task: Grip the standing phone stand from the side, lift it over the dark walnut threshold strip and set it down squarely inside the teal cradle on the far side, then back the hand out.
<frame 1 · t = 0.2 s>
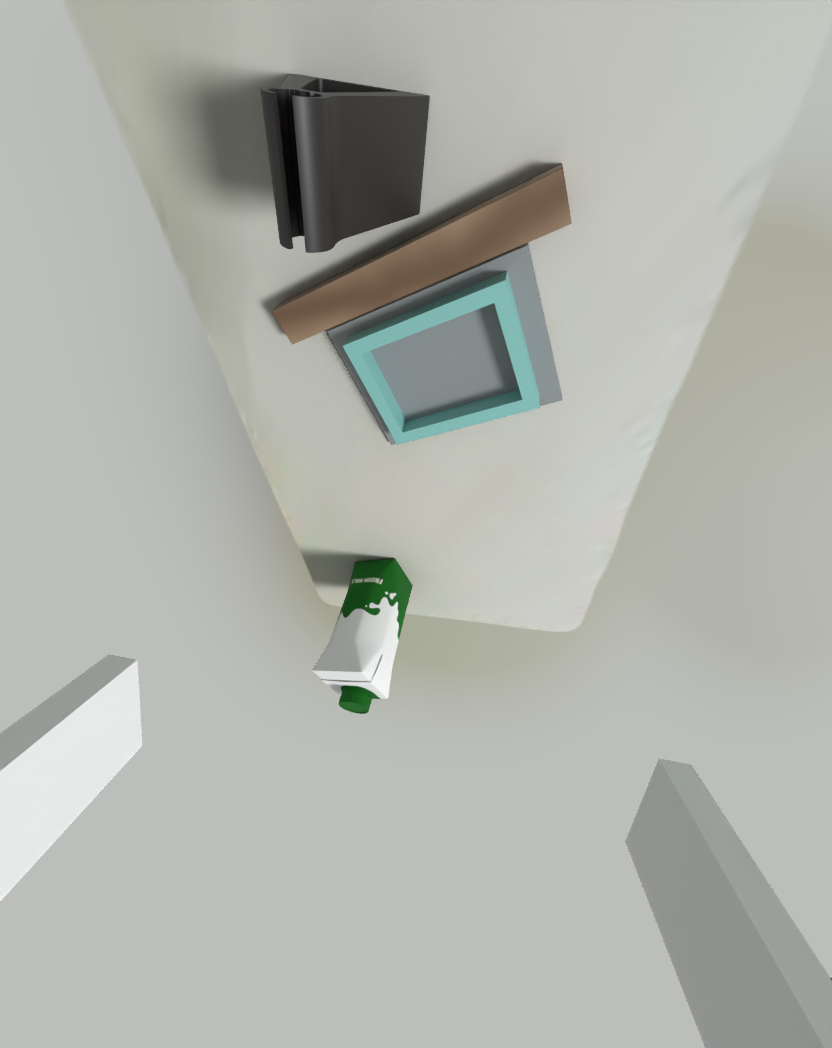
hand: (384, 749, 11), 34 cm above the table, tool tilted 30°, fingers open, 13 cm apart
threshold strip: (407, 265, 33), on the table
cradle: (446, 362, 38), on the table
milk carton: (384, 572, 66), on the table
phone stand: (361, 147, 28), on the table
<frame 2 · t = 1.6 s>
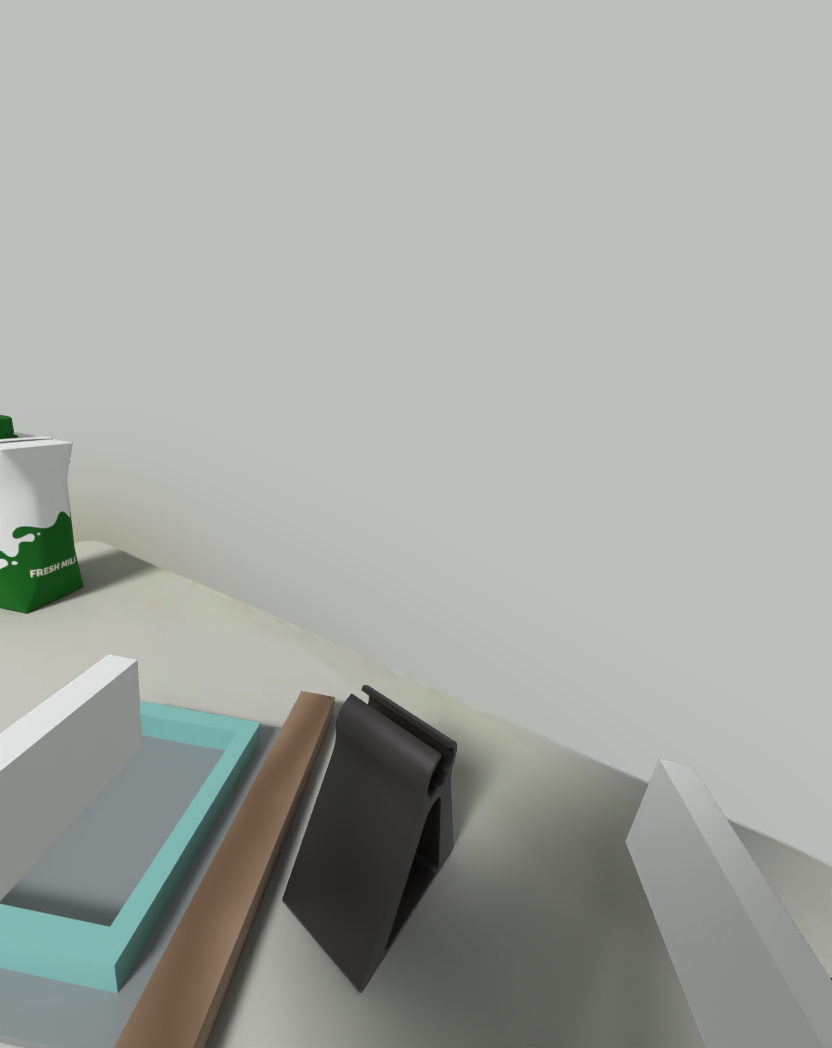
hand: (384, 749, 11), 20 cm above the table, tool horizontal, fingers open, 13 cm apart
threshold strip: (255, 851, 26), on the table
cradle: (124, 825, 26), on the table
milk carton: (30, 595, 48), on the table
phone stand: (373, 877, 25), on the table
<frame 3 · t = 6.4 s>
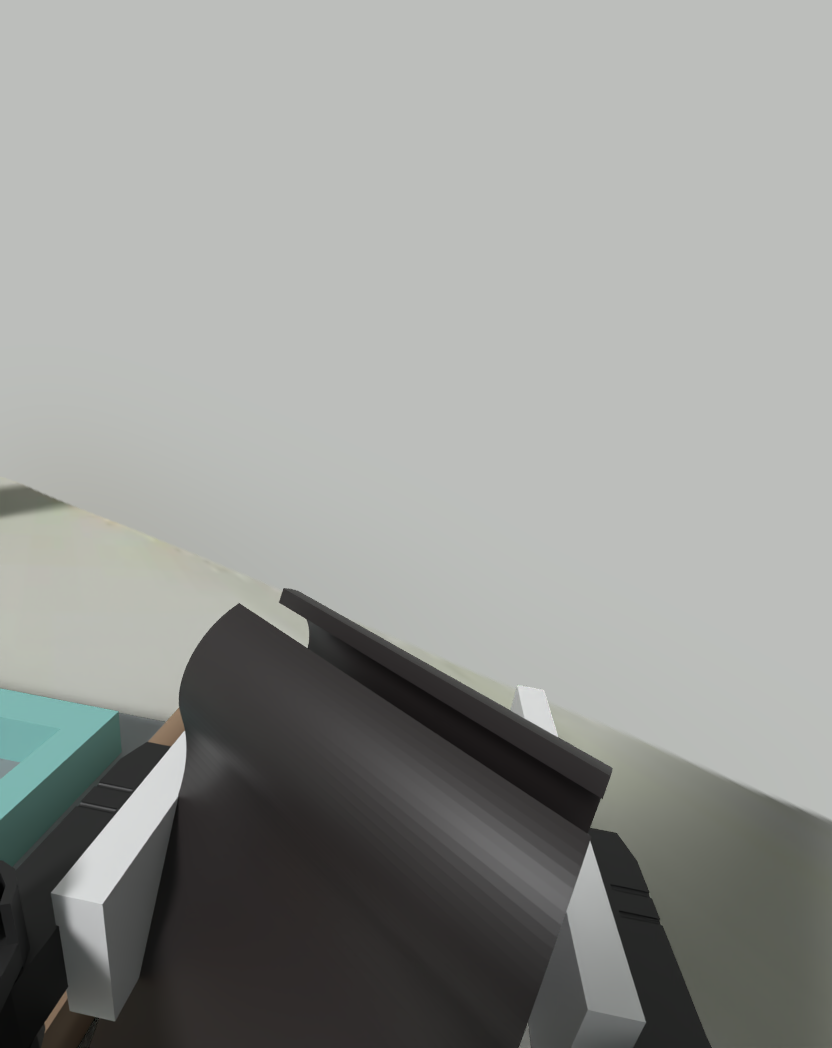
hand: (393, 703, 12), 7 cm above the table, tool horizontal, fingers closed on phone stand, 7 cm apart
threshold strip: (12, 1041, 10), on the table
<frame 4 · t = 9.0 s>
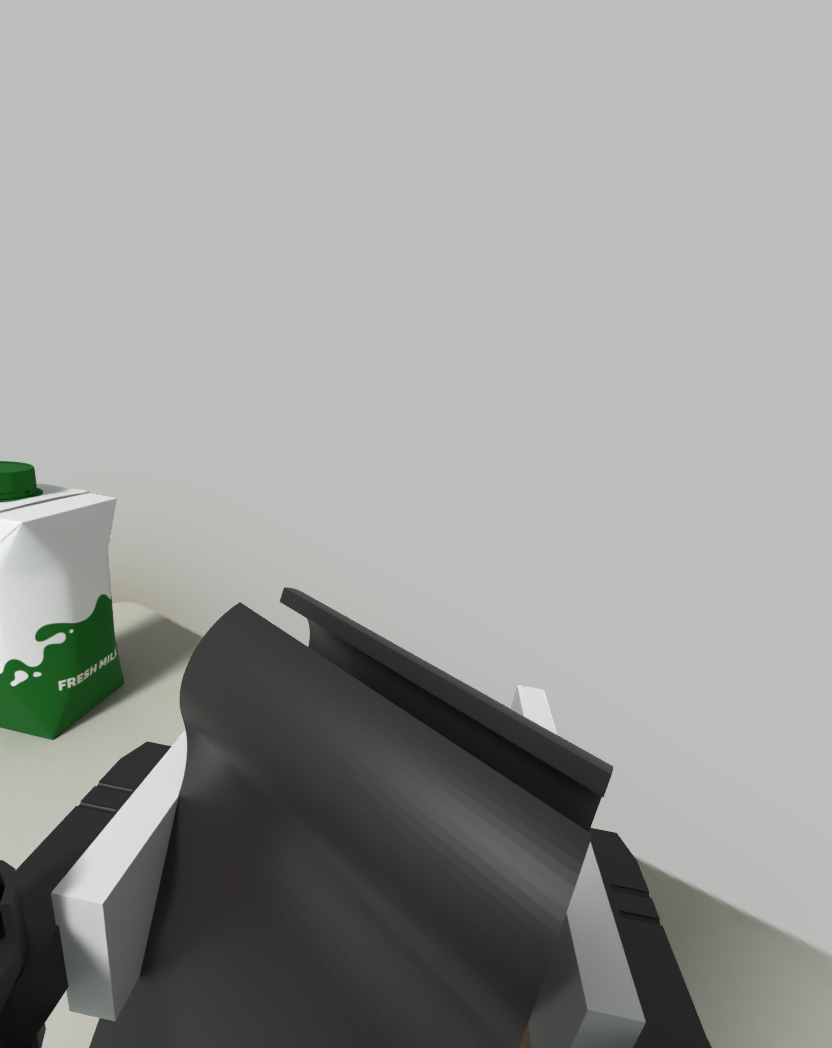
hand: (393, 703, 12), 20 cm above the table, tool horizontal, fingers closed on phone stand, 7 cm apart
milk carton: (54, 702, 36), on the table
when the fingers open (10 cm above the table, at t = 11.8 s): phone stand stays where it is, resting on cradle.
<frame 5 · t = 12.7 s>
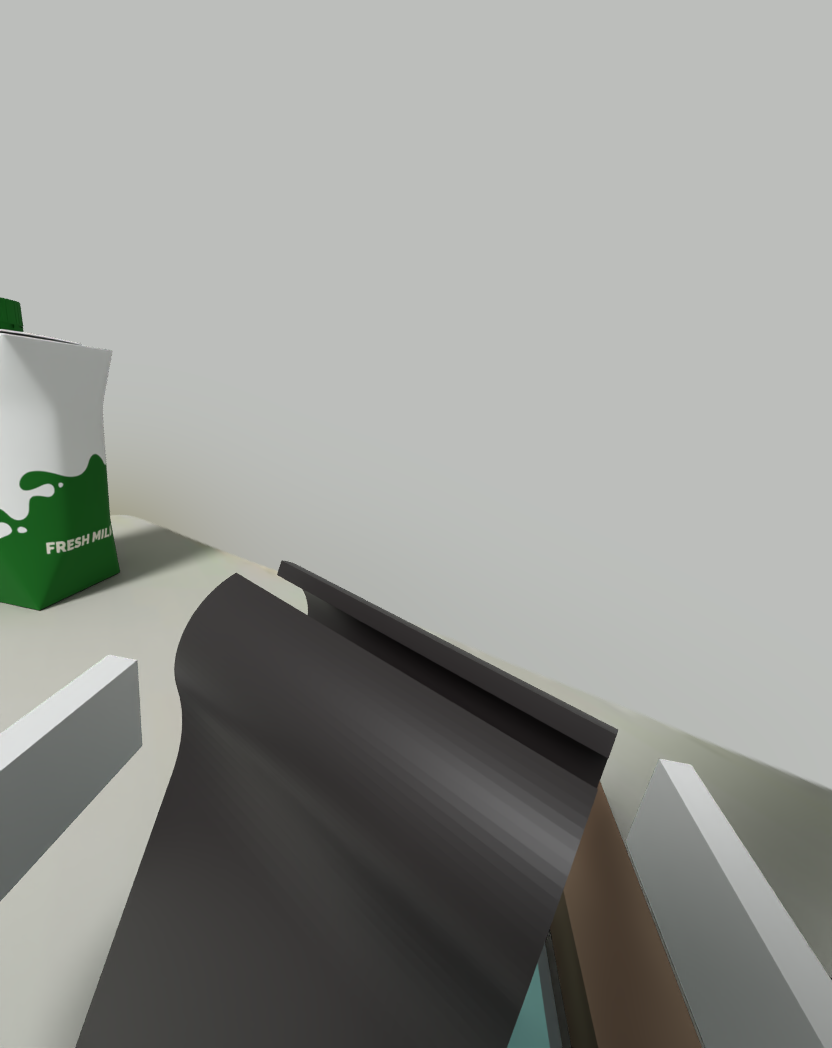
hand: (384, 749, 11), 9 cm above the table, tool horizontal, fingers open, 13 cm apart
milk carton: (43, 584, 32), on the table
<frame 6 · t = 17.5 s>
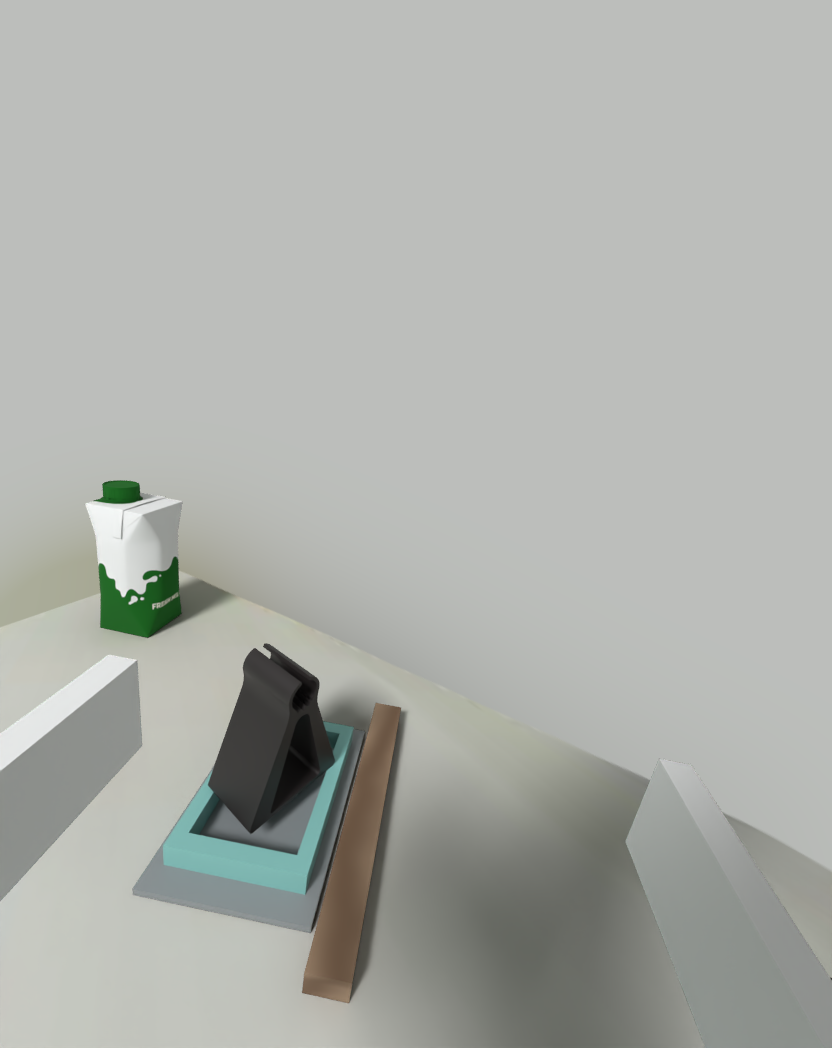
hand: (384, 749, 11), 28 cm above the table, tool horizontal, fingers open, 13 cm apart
threshold strip: (365, 815, 38), on the table
cradle: (273, 797, 38), on the table
milk carton: (143, 621, 60), on the table
phone stand: (274, 777, 37), point 2 cm above the table, touching cradle
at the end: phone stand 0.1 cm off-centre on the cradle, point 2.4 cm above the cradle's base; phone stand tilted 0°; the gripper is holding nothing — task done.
